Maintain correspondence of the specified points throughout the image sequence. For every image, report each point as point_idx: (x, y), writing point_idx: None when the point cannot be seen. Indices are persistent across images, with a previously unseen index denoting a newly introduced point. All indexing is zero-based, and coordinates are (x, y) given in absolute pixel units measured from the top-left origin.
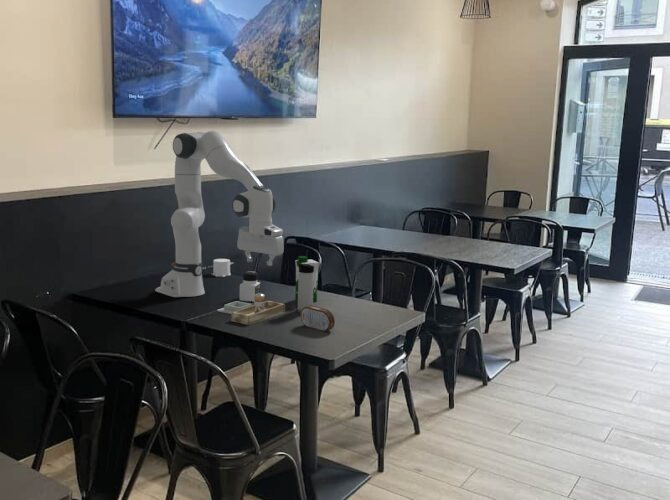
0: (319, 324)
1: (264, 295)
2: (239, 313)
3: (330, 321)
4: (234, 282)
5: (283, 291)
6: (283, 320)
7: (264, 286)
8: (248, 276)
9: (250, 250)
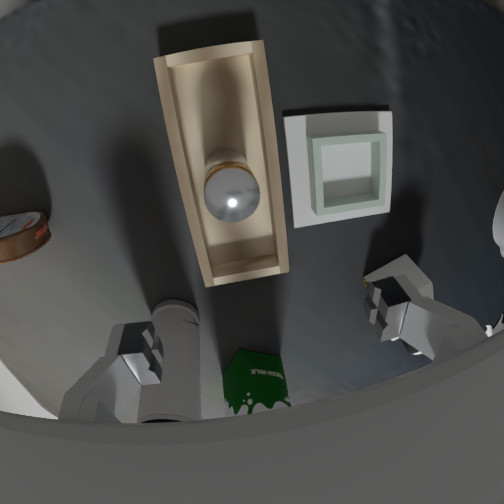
0: None
1: (208, 209)
2: (221, 50)
3: None
4: None
5: (356, 373)
6: (129, 201)
7: (409, 361)
8: None
9: (421, 375)
